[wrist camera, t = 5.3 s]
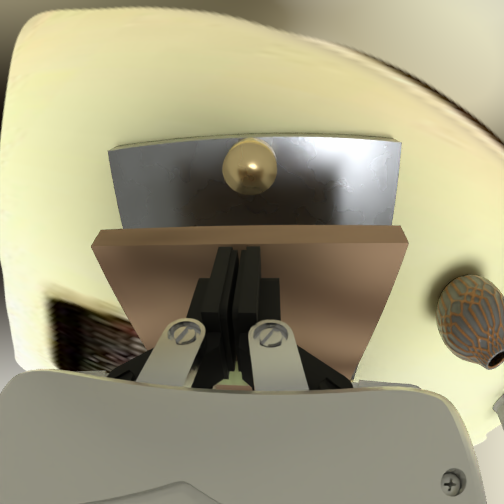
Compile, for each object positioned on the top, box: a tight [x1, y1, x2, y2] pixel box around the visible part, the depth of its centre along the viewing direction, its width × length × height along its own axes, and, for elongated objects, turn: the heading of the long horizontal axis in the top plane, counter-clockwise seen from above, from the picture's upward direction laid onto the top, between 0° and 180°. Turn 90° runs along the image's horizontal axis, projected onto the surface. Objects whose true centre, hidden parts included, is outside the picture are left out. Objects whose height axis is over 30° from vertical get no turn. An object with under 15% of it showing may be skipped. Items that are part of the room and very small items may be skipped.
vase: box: [436, 275, 504, 370], centre depth 21 cm, size 7×7×9 cm
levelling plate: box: [91, 225, 409, 391], centre depth 19 cm, size 20×14×3 cm
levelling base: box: [108, 133, 401, 382], centre depth 23 cm, size 25×19×6 cm
